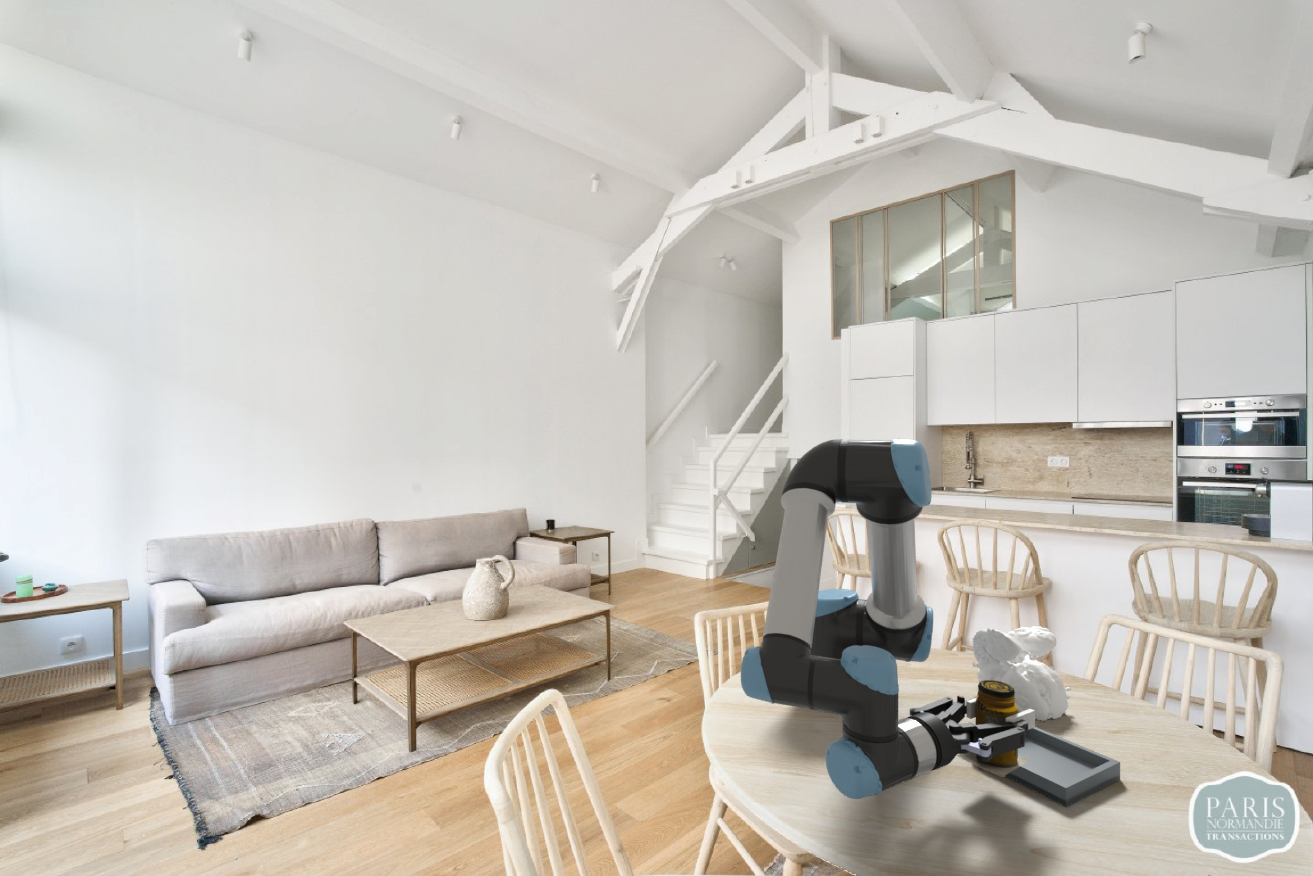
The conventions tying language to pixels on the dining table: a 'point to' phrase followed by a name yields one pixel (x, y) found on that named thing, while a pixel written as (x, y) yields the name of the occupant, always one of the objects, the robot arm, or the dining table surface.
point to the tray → (1062, 768)
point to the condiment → (995, 708)
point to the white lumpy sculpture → (1022, 668)
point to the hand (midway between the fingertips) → (1012, 709)
